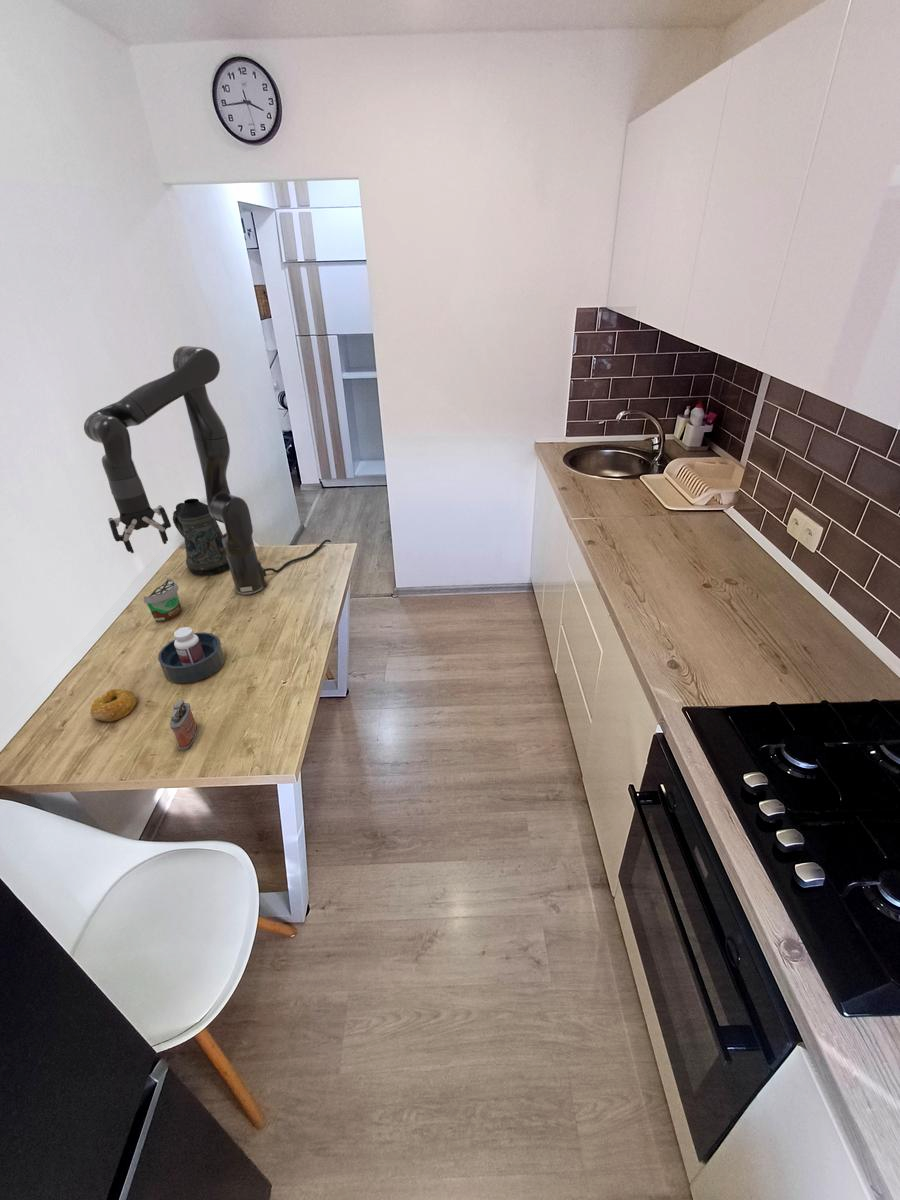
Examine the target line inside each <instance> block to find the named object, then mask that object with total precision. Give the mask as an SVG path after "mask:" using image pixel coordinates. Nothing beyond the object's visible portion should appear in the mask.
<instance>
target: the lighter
mask: <svg viewBox="0 0 900 1200" xmlns="http://www.w3.org/2000/svg"><path fill="white" fill-rule="evenodd" d="M191 707H192V706H191V704H190V703H189V702H185V701H184V699H182V698H181V699H178V700H177V701H176V704H174V705H173V706H172V713H171V715H170V717H169V718H170V721H169V727H170V730H172V732H173V735H174V736H175V739H176V742H177V744H178V749H179V750H180V751H181V752H185V751H188V750H190V749H191V748H192V747H193V745H194V744H195V741H196V740H197V737H198V735H199V730H200V729H199V725H198V723H197V722H196V720H195V717H194V714H193V711H192V709H191Z"/></svg>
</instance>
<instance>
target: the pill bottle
mask: <svg viewBox="0 0 900 1200" xmlns="http://www.w3.org/2000/svg"><path fill="white" fill-rule="evenodd" d="M193 633H194V630H193V628H192V627H189V626H184V627H180V628H178V629H176V630H175V631H174V633H173V637H174V640H175V639H176V640H175V642H174V645H175V648H176V651H177V653H178V656H179V658H180V661H181V664H182V666H186V665H191V664H194V663H197V662H199V661H202V660H204V659H205V658H206V657H205V655H204V652H203V649H202V646H201V644H200V641H199V638H198V636H197V635H196V634H193Z"/></svg>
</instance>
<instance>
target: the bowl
mask: <svg viewBox="0 0 900 1200" xmlns="http://www.w3.org/2000/svg"><path fill="white" fill-rule="evenodd" d="M193 634H196V635H197V636H198V638H199V641H200V644H201V646H202V649H203V652H204V655H205V657H206V658H205V659H204V660H202V661H199V662H197V663H194V664H191V665H186V666H182V664H181V661H180V658H179V656H178V653H177V651H176V648H175V645H174V642H175V640H176V639H175V638H174V639H173V640H171V641H169V642H168V643H167V644H165V645H164V646H163V647H162V648H161V650H160V651H159V653H158V656H157V660H158V663H159V665H160V668H161V670H162V672H163V675H164V677H165V679H166V680H168V681H169V682H172V683H176V684H191V683H194V682H199V681H201V680H204V679H207V678H209V677H210V676H212V675H213V674H215V673H216V672H218V671H219V670H220V669H221V668H222V667H223V664H225V661H226V654H225V651H224V648H223V644H222V641H221V640H220V638H219V636H217V635H215V634H214V633H211V632H206V631H205V632H204V631H203V632H193Z"/></svg>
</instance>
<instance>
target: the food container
mask: <svg viewBox="0 0 900 1200" xmlns="http://www.w3.org/2000/svg"><path fill="white" fill-rule="evenodd" d="M178 591H179V586H178V584H177V582H176V581H175V580H174V579H172V578H169V577H166V581H165V582H164V583H162V584H161V585H159V586H158V587H156V588H155V589H154V590H153V591H152V592H151V594H150V595H148V596H143V602H144V604H146V605H147V607H148V609H149V611H150V613H151V616H152V618H153V619H154V621H155V623H166V622H169V621H171V620H174V619H176V618H178V617H179V616H180V614H181V613H182V606H181V603H180V599H179V594H178V593H179V592H178Z"/></svg>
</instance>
